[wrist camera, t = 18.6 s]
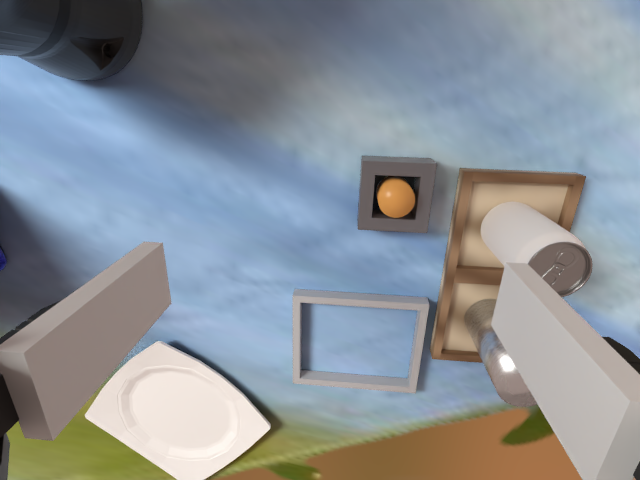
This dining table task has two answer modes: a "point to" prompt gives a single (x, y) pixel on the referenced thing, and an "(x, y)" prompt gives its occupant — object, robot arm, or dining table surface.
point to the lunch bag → (2, 260)
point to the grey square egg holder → (422, 189)
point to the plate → (177, 413)
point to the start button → (395, 196)
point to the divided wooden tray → (473, 254)
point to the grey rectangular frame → (362, 301)
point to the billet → (496, 355)
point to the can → (537, 246)
